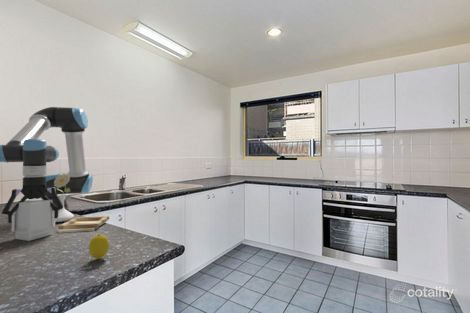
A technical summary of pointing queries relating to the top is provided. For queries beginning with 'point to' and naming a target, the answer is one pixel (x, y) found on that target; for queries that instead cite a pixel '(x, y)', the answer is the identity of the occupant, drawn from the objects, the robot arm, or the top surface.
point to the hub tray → (82, 224)
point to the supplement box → (33, 219)
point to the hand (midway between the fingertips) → (34, 228)
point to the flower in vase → (63, 213)
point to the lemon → (98, 246)
